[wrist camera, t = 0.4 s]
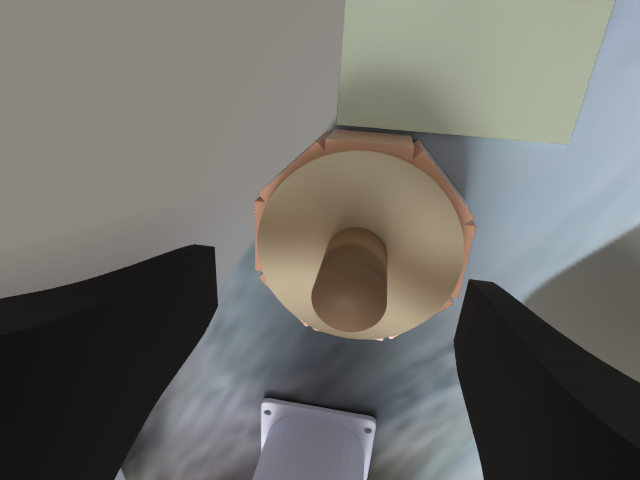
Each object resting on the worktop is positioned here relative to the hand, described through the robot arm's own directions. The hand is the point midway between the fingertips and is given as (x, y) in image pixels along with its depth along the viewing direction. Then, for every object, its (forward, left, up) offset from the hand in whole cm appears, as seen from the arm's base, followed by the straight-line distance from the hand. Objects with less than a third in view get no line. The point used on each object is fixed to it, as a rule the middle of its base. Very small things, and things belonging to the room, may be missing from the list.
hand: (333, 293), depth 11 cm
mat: (+9, -4, -10) cm, 14 cm away
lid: (-2, 0, -7) cm, 7 cm away
